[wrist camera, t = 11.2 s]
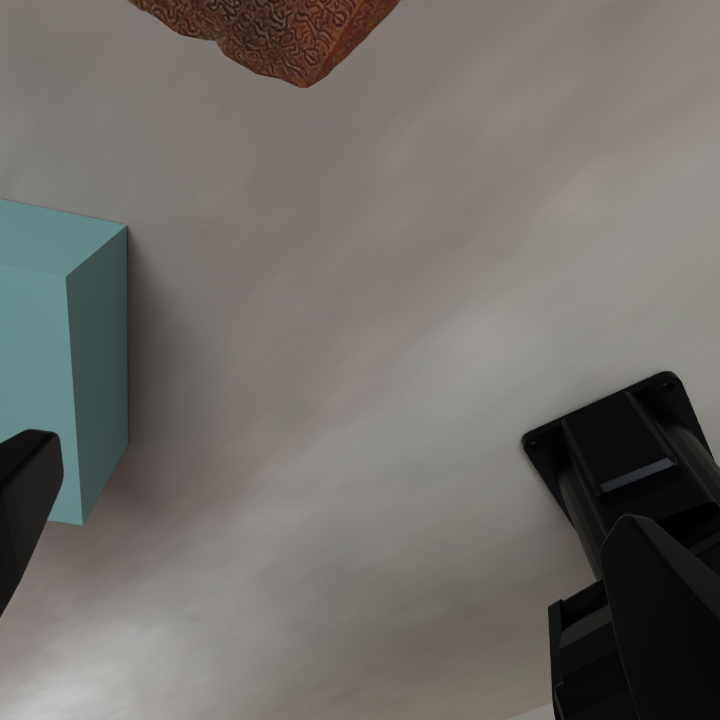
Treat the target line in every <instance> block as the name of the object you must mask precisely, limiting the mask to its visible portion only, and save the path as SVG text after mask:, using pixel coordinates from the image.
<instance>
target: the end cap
mask: <svg viewBox="0 0 720 720" xmlns="http://www.w3.org/2000/svg"><path fill="white" fill-rule="evenodd" d="M27 429H38V430H45V431H52V432H55V433H57V434H58V436H59V438H60V442H61V450H62V459H63V467H64V478H63V483H62V486H61V489H60V491H59V494H58V496H57V498H56V501H55V503H54V505H53V508H52V510H51V512H50V515H49V517H48V519H47V520H51V521H57V522H64V523H70V524H77V525H83V524H84V522H85V520H86V519H87V517H88V515H89V513H90V512H91V510H92V508H93V506H94V504H95V503H96V501H97V499H98V497H99V496H100V494H101V492H102V490H103V489H104V487H105V485H106V483H107V481H108V480H109V478H110V476H111V474H112V473H113V471H114V469H115V467H116V466H117V464H118V462H119V460H120V459H121V457H122V455H123V453H124V451H125V450H126V448H127V446H128V347H127V225H124V224H119V223H114V222H109V221H105V220H100V219H95V218H90V217H85V216H80V215H75V214H71V213H66V212H61V211H56V210H51V209H46V208H41V207H37V206H32V205H27V204H22V203H17V202H12V201H7V200H3V199H0V443H1V442H3V441H5V440H7V439H9V438H11V437H12V436H14V435H16V434H18V433H20V432H22V431H24V430H27Z"/></svg>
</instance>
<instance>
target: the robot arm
mask: <svg viewBox="0 0 720 720" xmlns="http://www.w3.org/2000/svg"><path fill="white" fill-rule="evenodd" d="M668 382H670V383H669V385H667V386H665V387H662V386H663V385H664V384H665V383H668ZM535 441H539V442H538V443H537V444H533V445H532V444H531V443H533V442H535ZM522 444H523V447H524V450H525V452H526V454H527V455H528V457H529V458H530V460H531V461H532V463H533V465H534V466H535V468H536V469H537V471H538V472H539V474H540V475H541V477H542V479H543V480H544V482H545V483H546V485H547V486H548V488H549V490H550V491H551V493H552V494H553V496H554V497H555V499H556V500H557V502H558V504H559V505H560V507H561V508H562V510H563V511H564V513H565V515H566V516H567V518H568V519H569V521H570V522H571V524H572V526H573V527H574V529H576V531H577V534H578V536H579V539H580V541H581V544H582V546H583V549H584V551H585V554H586V556H587V558H588V561H589V563H590V566H591V568H592V571H593V573H594V576H595V578H596V581H597V582H595V583H593V584H591V585H590V586H588V587H586V588H585V589H583V590H581V591H580V592H578V593H576V594H574V595H573V596H571V597H569V598H568V599H566V600H562V599H560V600H559V601H557V602H555V603H553V604H552V605H550V606H548V616H549V637H550V658H551V679H552V700H553V707H554V715H555V720H720V467H719V466H718V465H717V464H716V462H715V461H714V458H713V456H712V453H711V451H710V449H709V446H708V444H707V441H706V439H705V437H704V434H703V432H702V429H701V427H700V425H699V422H698V420H697V417H696V415H695V413H694V410H693V408H692V405H691V403H690V401H689V398H688V396H687V393H686V391H685V389H684V386H683V384H682V382H681V380H680V379H679V378H678V377H677V376H676V374H675V373H673V372H671V371H664V372H661V373H658V374H656V375H654V376H652V377H649V378H647V379H645V380H643V381H640V382H638V383H636V384H634V385H632V386H629V387H627V388H625V389H623V390H620V391H618V392H616V393H614V394H612V395H609V396H607V397H605V398H603V399H601V400H598V401H596V402H594V403H592V404H589V405H587V406H585V407H583V408H581V409H578V410H576V411H574V412H572V413H570V414H567V415H565V416H563V417H561V418H558V419H556V420H554V421H552V422H550V423H547V424H545V425H543V426H541V427H539V428H536V429H534V430H532V431H530V432H528V433H526V434H525V435H524V436H523V437H522ZM63 478H64V467H63V459H62V450H61V442H60V438H59V436H58V434H57V433H55V432H52V431H45V430H38V429H27V430H24V431H22V432H20V433H18V434H16V435H14V436H12V437H11V438H9V439H7V440H5V441H3V442H1V443H0V617H1V615H2V613H3V612H4V610H5V608H6V606H7V605H8V603H9V601H10V599H11V598H12V596H13V594H14V592H15V590H16V588H17V586H18V585H19V583H20V581H21V579H22V577H23V574H24V572H25V570H26V568H27V566H28V563H29V561H30V559H31V556H32V554H33V552H34V549H35V547H36V545H37V542H38V540H39V538H40V535H41V533H42V531H43V528H44V526H45V524H46V522H47V519H48V517H49V515H50V512H51V510H52V508H53V505H54V503H55V501H56V498H57V496H58V494H59V491H60V489H61V486H62V483H63Z"/></svg>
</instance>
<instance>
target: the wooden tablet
mask: <svg viewBox="0 0 720 720" xmlns="http://www.w3.org/2000/svg"><path fill="white" fill-rule="evenodd" d="M129 1H130V2H132V3H133V4H134V5H135V6H136V7H138V8H139V9H140V10H141V11H146V12H148V13H150V14H151V15H153V16H155V17H157V18H158V19H159V20H160V21H162V22H163V23H164V24H165V25H167V26H168V27H169V28H170V29H172V30H173V31H175V32H177V33H178V34H180V35H184V36H188V37H193V38H198V39H204V40H213V41H216V43H217V44H218V46H219V47H220V49H221V50H222V52H223V53H224V55H226V56H227V57H229V58H230V59H232V60H233V61H235V62H237V63H239V64H240V65H242V66H244V67H246V68H247V69H249V70H251V71H252V72H254V73H255V74H259V75H264V76H268V77H273V78H278V79H282V80H284V81H286V82H288V83H290V84H292V85H295V86H297V87H300V88H308V87H310V86H312V85H313V84H315V83H316V82H318V81H320V80H321V79H323V78H324V77H326V76H327V75H328V74H329V73H330V72H331V71H332V69H333V68H334V67H335V66H336V65H338V64H339V63H340V62H341V61H343V60H344V59H345V58H346V57H347V56H348V55H349V54H350V53H351V52H352V51H353V50H354V49H355V48H356V46H358V45H359V44H360V43H361V42H362V41H363V40H365V39H366V38H367V36H368V35H369V34H370V32H371V31H372V30H373V29H374V28H375V27H376V26H377V25H378V24H379V23H380V22H381V21H382V20H383V19H384V18H386V17H387V16H388V15H389V13H390V12H391V11H392V10H393V9H394V8H395V7H396V5H397V4H398V3H399V2H400V0H129Z"/></svg>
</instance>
